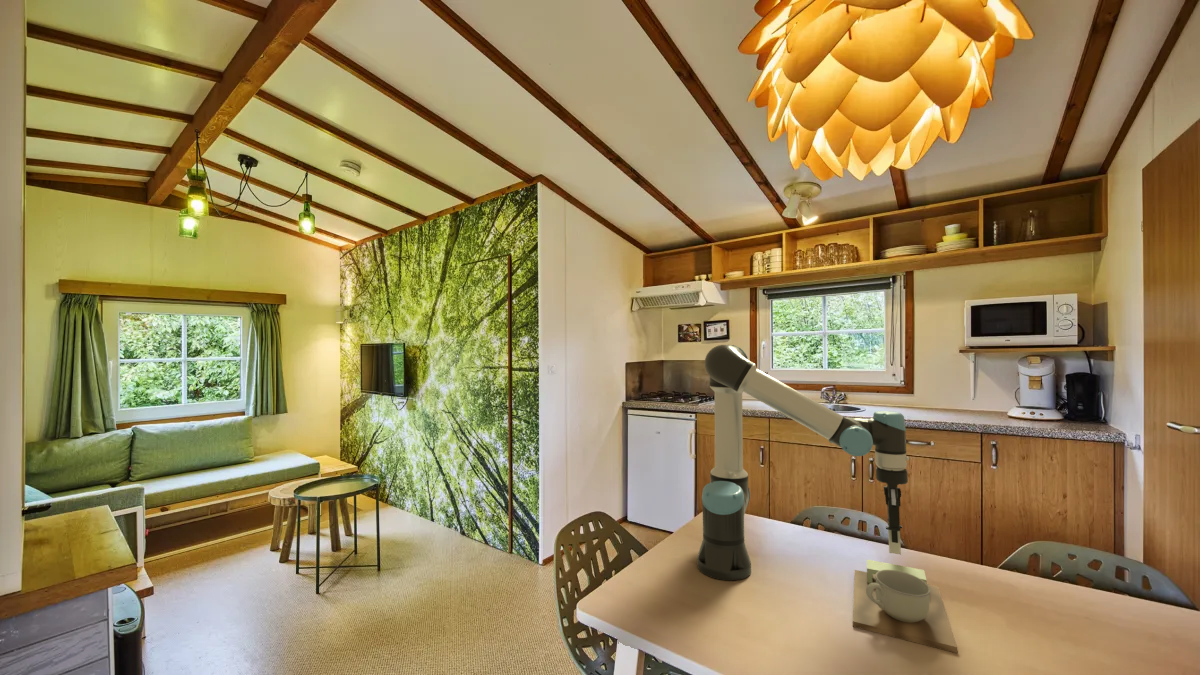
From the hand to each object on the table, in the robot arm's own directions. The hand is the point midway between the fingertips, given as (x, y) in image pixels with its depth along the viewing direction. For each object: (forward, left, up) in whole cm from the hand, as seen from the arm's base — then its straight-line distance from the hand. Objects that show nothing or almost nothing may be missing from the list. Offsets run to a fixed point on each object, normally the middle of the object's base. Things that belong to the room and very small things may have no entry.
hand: (895, 552), depth 128 cm
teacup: (-1, -25, -5) cm, 26 cm away
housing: (0, -8, -5) cm, 10 cm away
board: (0, -19, -6) cm, 20 cm away
